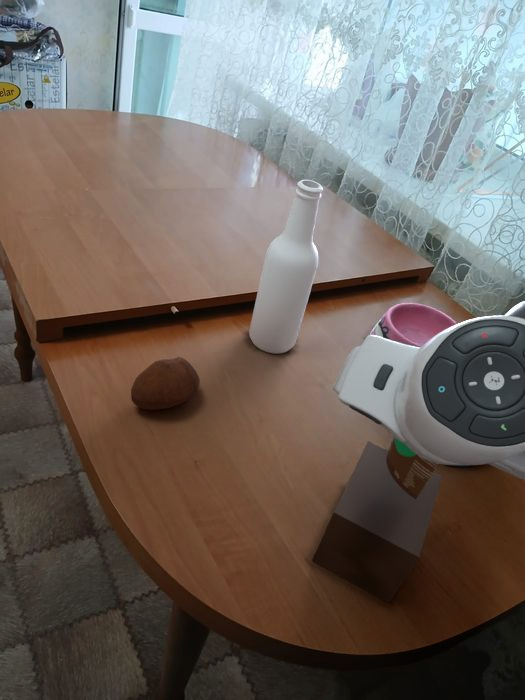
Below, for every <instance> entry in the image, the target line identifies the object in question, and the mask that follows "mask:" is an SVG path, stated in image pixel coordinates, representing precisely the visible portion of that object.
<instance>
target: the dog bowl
mask: <svg viewBox="0 0 525 700" xmlns="http://www.w3.org/2000/svg"><path fill="white" fill-rule="evenodd" d="M456 324H458V323H457V321H456V320H454V319H453V318H451V317H450V316H449V315H447V314H446V313H444V312H443V311H440V310H439V309H437V308H434V307H432V306H428V305H425V304H421V303H415V302H402V303H398V304H395V305H392V306H391V307H390V308H389V309H388V310H387V311H386V312H385V313H384V314H382V316H381V318H380V320H379V321H378V322H377V323H376V324H375V326H374V327H373V328H372V330H371V331H370V332H369V334H368V336H369V335H375V336H379V337H382V338H386V339H390V340H393V341H396V342H400V343H403V344H407V345H410V346H414V347H420V348H421V347H422V346H423V345H424V344H425V343H426V342H427V341H429V340H430V339H431V338H433V337H434V336H435V335H437V334H438V333H440V332H442V331H443V330H445V329H447V328H449V327H451V326H454V325H456Z"/></svg>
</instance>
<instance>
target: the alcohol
mask: <svg viewBox="0 0 525 700" xmlns="http://www.w3.org/2000/svg"><path fill="white" fill-rule="evenodd" d="M296 186H297V188H296V189H295V195H294V197H293V202H292V204H291V207H290V211H289V215H288V218H287V220H286V223H285V226H284V229H283V231H282V233H281V234H280V235H278V236H277V237H276V238H274V239H273V240H272V241H271V242H270V244H269V246H268V248H267V250H266V252H265V255H264V261H263V265H262V269H261V270H262V271H261V275H260V279H259V284H258V289H257V293H256V298H255V303H254V307H253V311H252V317H251V321H250V325H249V330H248V335H249V338H250V339H251V342H252V344H253V345H254V346H255V347H256V348H257V349H259V350H261V351H263V352H266V353H270V354H283V353H286V352H288V351H290V350H291V349H293V347H295V345H296V343H297V339H298V336H299V333H300V330H301V326H302V323H303V319H304V316H305V311H306V308H307V305H308V301H309V297H310V295H311V290H312V286H313V284H314V280H315V277H316V274H317V270H318V266H319V252H318V249H317V247H316V245H315V243H314V239H313V238H314V232H315V227H316V226H315V225H316V221H317V215H318V209H319V205H320V200H321V198H322V193H323V191H324V187H323V186H322V185H321V184H320V183H319V182H317V181H315V180H311V179H302V180H299V181H297V183H296Z"/></svg>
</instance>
